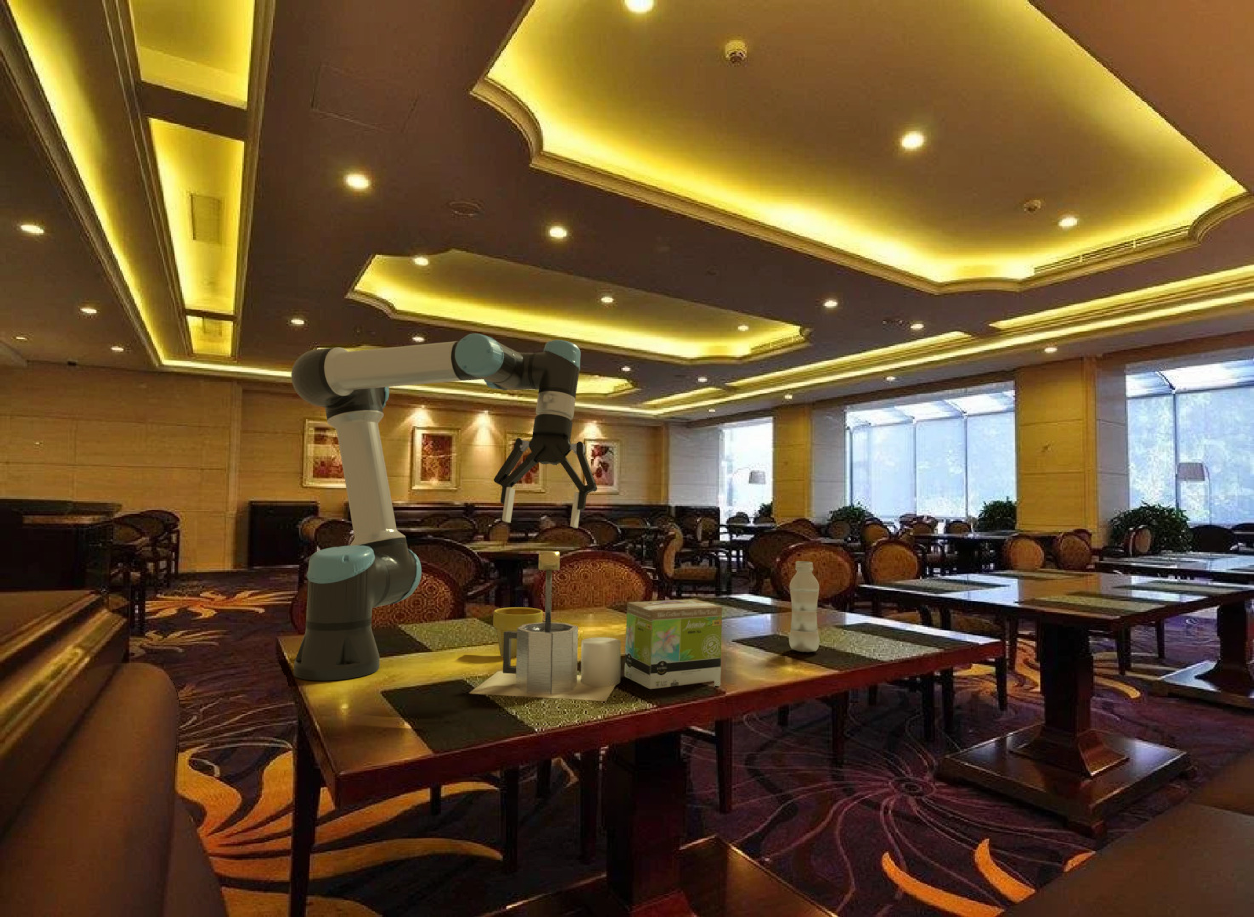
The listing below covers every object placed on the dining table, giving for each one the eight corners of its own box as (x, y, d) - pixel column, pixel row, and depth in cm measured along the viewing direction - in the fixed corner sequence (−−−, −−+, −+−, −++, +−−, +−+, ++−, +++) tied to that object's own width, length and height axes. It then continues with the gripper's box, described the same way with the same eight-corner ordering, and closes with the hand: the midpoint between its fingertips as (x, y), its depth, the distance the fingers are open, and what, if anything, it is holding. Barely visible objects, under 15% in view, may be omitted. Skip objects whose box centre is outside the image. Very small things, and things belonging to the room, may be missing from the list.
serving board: (468, 700, 113) (468, 693, 113) (498, 677, 128) (498, 670, 128) (605, 708, 110) (605, 700, 110) (620, 683, 124) (620, 677, 124)
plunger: (522, 641, 115) (524, 552, 116) (533, 633, 122) (535, 550, 123) (562, 643, 114) (564, 553, 115) (571, 635, 121) (573, 551, 122)
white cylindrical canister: (576, 685, 118) (577, 644, 119) (585, 675, 125) (585, 636, 126) (616, 687, 117) (617, 646, 118) (622, 677, 124) (623, 638, 125)
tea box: (650, 697, 117) (651, 609, 117) (623, 682, 125) (624, 601, 126) (722, 687, 123) (723, 604, 124) (692, 674, 132) (693, 597, 133)
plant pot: (546, 652, 149) (547, 607, 149) (535, 664, 138) (536, 615, 139) (500, 651, 150) (501, 606, 150) (485, 662, 140) (487, 613, 140)
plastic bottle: (795, 647, 158) (795, 560, 159) (824, 651, 154) (823, 562, 155) (784, 652, 153) (784, 562, 154) (813, 656, 149) (813, 564, 150)
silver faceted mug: (494, 691, 114) (495, 631, 115) (512, 676, 124) (513, 620, 124) (567, 695, 112) (569, 634, 113) (580, 680, 122) (581, 623, 122)
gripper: (487, 409, 134) (471, 516, 129) (611, 415, 129) (598, 526, 124) (501, 420, 141) (486, 522, 136) (619, 426, 136) (607, 532, 131)
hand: (539, 524), depth 130 cm, fingers open, 13 cm apart
